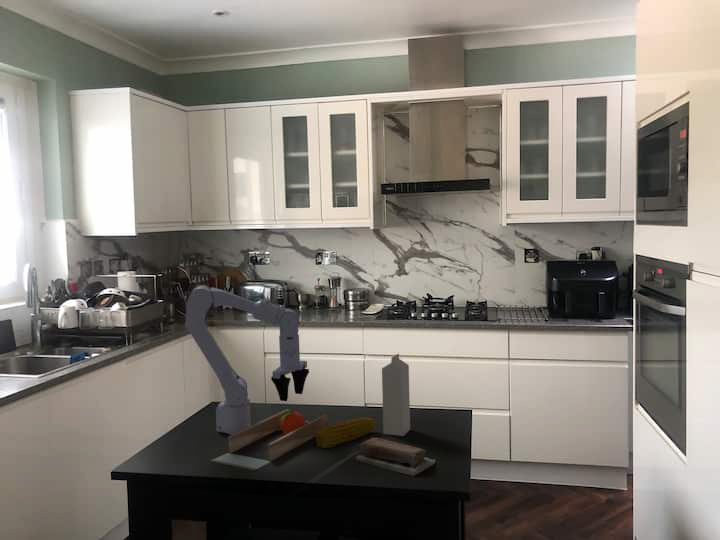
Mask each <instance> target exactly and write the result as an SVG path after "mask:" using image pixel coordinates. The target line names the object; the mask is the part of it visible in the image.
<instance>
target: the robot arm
mask: <svg viewBox="0 0 720 540" xmlns="http://www.w3.org/2000/svg"><path fill="white" fill-rule="evenodd" d="M212 305H213V307H214V308H216V307H220V306H227V307H231V308H234V309H237V310H240V311H243V312H247V313H250V314H251V315H252V317H253V319H254V320H256V321H259V322H262V323H265V324H269V325H271V326H279V336H278V344H279V345H278V346H279V366H278V367H277V368H276V369H274V370H273V371H271V372H272V376H270V377H271V381H272V383H273V384H274V387H275V388H276V392H277V393H278V397H279V401H281V402H287V401H288V398H289V386H290V383H291V377H287V376H286V375H288V374H291V376H292V380H293V389H294V394H295V395H297V394H298V395H302V394H303V391H304V388H305V384H306V383H305V382H306V380H307V377H308V375H309V373H310V368H308V360H301V358H300V357H301V356H300V355H301V353H300V335H299V326H300V324H301V323H300V318H299V316H298V314H297V313H296V311H294V310H293V309H291V308H290V307H289V308H288V307H287V308H286V306H285V305H282V306H281V305H277V304H274V303H272V302H271V301H270V300H269V299H264V300H263V299H260V300H258V301H256V302H254V301H252V300H250V299H246V298H244V297H242V296H239V295H237V294H234V293H232V292H230V291H226V290H223V289H220V288H216V287H209V286H207V285H197V286H195V288H194V289H192V291H191V293H190V295H189V297H188V299H187V301H186V304H185V307H186V309H185V326H186V328H187V330H188V332H189V333H190V335H191V336H192V338H193V340H194V341H195V343H196V345H197V346H198V348H199V349H200V351H201V353H202V354H203V355H204V357H205V359H206V361H207V362H208V363H209V365H210V367H211V368H212V370H213V372H214V374H215V375H216V376H217V378H218V380H219V383H220V386H221V388H222V389H223V391H224V397H225V400H224V401H223V400H222V401H221V402H220V403H219V404H217V407H216V410H215V420H216V421H215V422H216V432H218V433H225V434H227V435H230V436H231V435H233V434H235V433H237V432H240V431H242V430H244V429H246V428H248V427H250V426H252V425H251V424H252V421H251V404H250V403H251V402H250V399H249V396H248V395H249V394H248V383H247V381H246V380H245V379H244V378H243V377H241V376H240V375H239V373H237V371H236V370H235V369H234V368H233V367H232V365H231V364H230V362H229V360H228V359H227V357H226V355H225V354H224V352H223V350H222V349H221V347H220V346H219V344H218V342H217V341H216V339H215V338H214V336H213V334H212V333H211V330H210V329H209V328H208V326H207V324H206V323H205V320H206V319H205V318H206V315H207V312H208V310H209V309H210V307H212Z"/></svg>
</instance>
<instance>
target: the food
mask: <svg viewBox="0 0 720 540" xmlns="http://www.w3.org/2000/svg"><path fill="white" fill-rule="evenodd" d="M376 425H377V423H376V420H375V419H373V418H371V417H367V416H366V417H365V416H364V417H357V418H354V419H349V420H344V421H341V422H338V423H336V424H331V425H328V426H327V427H325V428H322V429H321V430H319V431H318V433H317V434H316V437H315V440H316V441H315V442H316V444H317V447H320V448H322V449H329V448H333V447H334V448H335V447H336V446H338V445H340V444H343V443H345V442H346V443H350V442H352V441H354V440H356V439H358V438H361V437H365V435H368V434H370V433H371V432H372V431H373V430H374V429H375V428H376Z"/></svg>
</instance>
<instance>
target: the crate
mask: <svg viewBox="0 0 720 540" xmlns="http://www.w3.org/2000/svg"><path fill="white" fill-rule="evenodd" d="M290 412H291V409H289V408H285V410H281V411H280V412H277V413H275V414H273V415H272V416H269V417H267V418H265V419H263V420H261V421H258V422H257V423H254V424H252V425H251V426H250V427H248V428H246V429H244V430H242V431H240V432H237V433H235V434H233V435H230V436H227V444H228V453H231V454H234V453H235V452H236V451H238V450H240V449H242V448H245V447H246V446H248V445H250V444H252V443H254V442H256V441H258V440H261V439H262V438H264V437H266V436H268V435H270V434H272V433H274V432H276V431H280V430H282V429H281V421H282V419H283V418H282V417H283V416H284V415H285V414H287V413H290ZM281 418H282V419H281ZM280 419H281V421H280ZM279 421H280V422H279ZM328 422H329V421H328V414H324V413H323V414H322V415H320V416H318V417H317V418H315V419H313V420H311V421H308V420H305V423H306V424H305V425H303V426H302V427H300V428H298V429H296V430H294V431H292V432H290V433H288V434H286V435H285V434H284V435H283V436H281V437H279V438H277V439H276V440H275V439H274V441H272V442H269V443H268V444H267V450H268V452H267V453H268V461H271V462H272V461H275V460H276V459H279V458H280V457H282V456H284V455H285V454H288V452H290V451H292V450H293V449H295V448H297V447H299V446H301V445H303V444H305V443H307V442H308V441H310V440H311V439H314V438H316V434H317V433H318V431H319V430H321V429H322V428H325V427H327V426H329V425H328ZM278 424H279V425H278Z"/></svg>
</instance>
